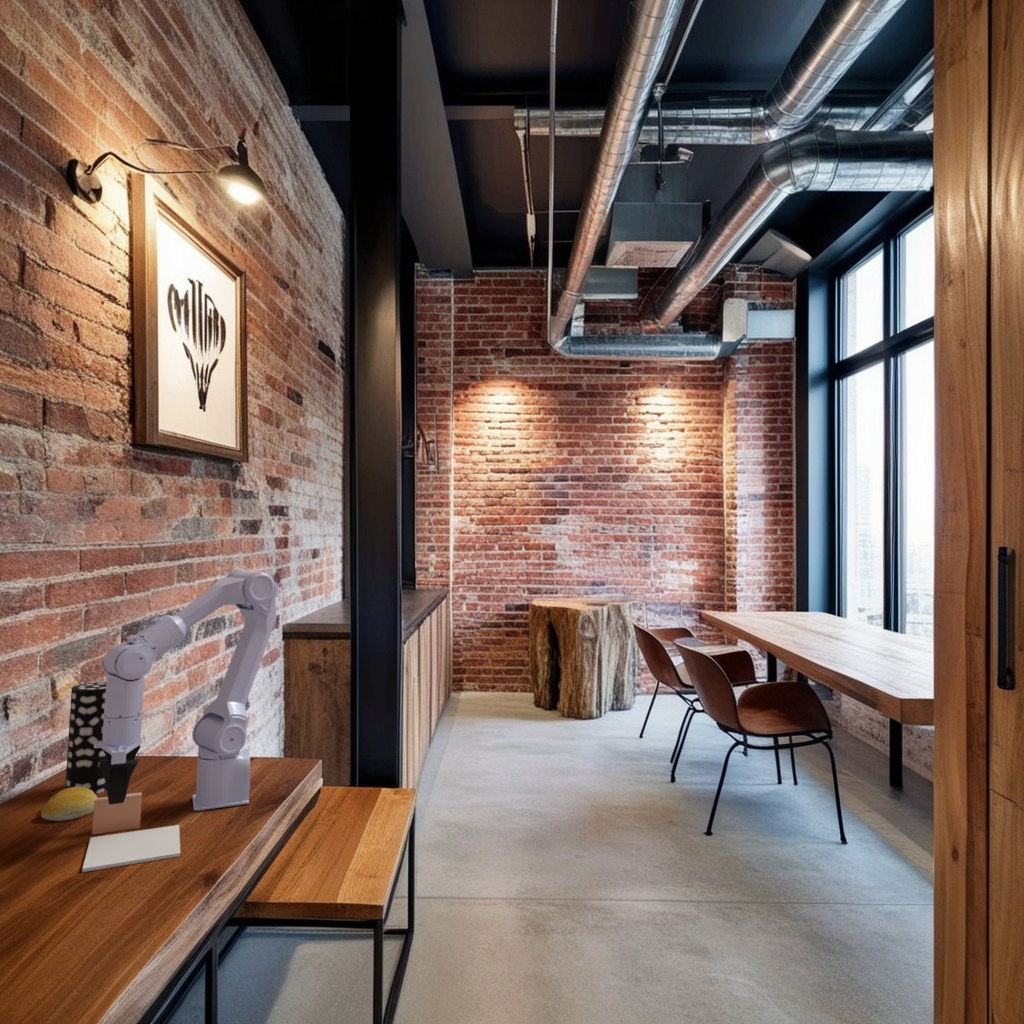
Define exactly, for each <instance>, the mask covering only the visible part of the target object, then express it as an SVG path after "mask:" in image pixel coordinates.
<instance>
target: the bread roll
mask: <svg viewBox="0 0 1024 1024" xmlns="http://www.w3.org/2000/svg"><path fill="white" fill-rule="evenodd" d="M95 798H98V796H97V795H96V794H95V793H94V792H93V791H92V790H90V789H87V788H84V787H71V788H67V789H65V788H64V789H62V790H60V791H58V792H57V793H55V794H54V795H52V796H51V797H50V798H49V800H48V801H47V803H46V804H45V805H44V806H43V807H42V809H41V812H40V816H41V818H42V819H43V820H46V821H54V822H65V821H66V822H67V821H71V820H76V819H79V818H83V817H85V816H88V815H89V814H92V813H93V812H94V800H95Z"/></svg>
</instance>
